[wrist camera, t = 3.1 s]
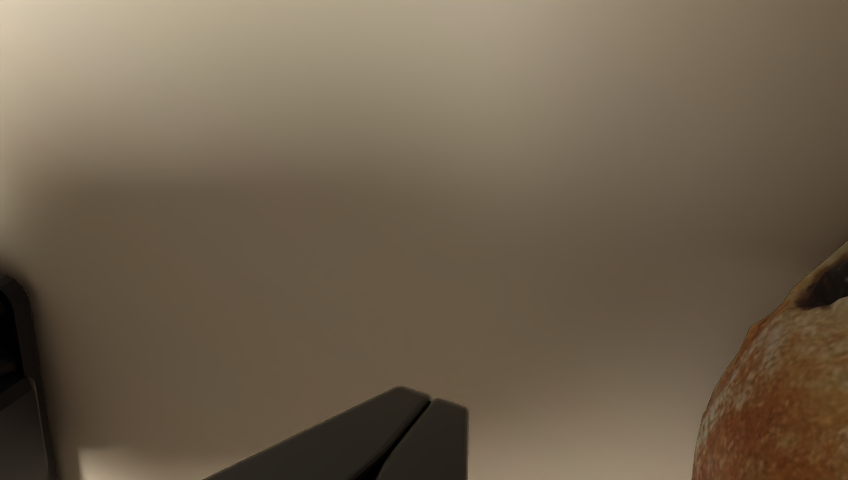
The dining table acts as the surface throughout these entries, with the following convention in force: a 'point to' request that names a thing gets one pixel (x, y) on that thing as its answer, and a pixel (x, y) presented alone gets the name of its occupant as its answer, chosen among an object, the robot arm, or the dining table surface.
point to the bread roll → (785, 390)
